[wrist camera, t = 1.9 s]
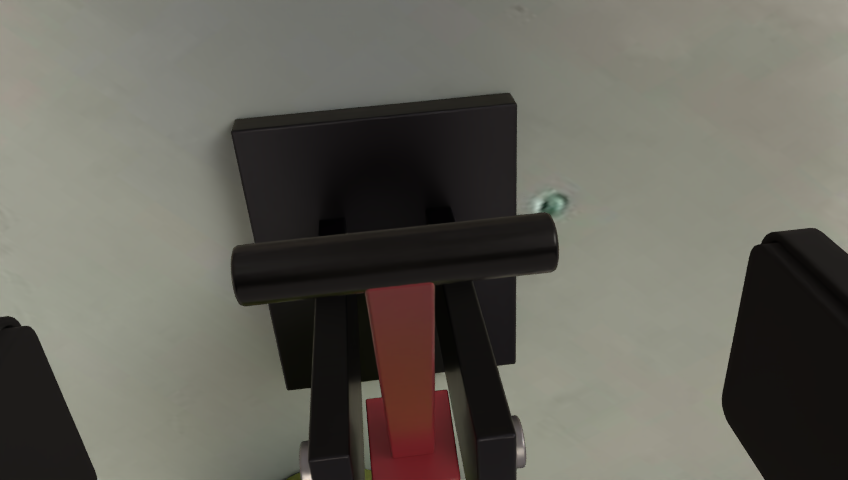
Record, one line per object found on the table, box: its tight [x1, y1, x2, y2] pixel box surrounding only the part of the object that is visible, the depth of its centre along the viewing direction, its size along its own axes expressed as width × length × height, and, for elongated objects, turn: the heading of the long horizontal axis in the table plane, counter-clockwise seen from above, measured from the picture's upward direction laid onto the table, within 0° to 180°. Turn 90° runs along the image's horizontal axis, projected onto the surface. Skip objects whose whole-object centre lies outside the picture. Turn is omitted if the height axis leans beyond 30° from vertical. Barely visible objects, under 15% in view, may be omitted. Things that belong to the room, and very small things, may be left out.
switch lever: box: [231, 212, 559, 480], centre depth 16 cm, size 12×5×2 cm, turn 3°
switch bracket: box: [231, 93, 526, 480], centre depth 24 cm, size 12×10×13 cm
